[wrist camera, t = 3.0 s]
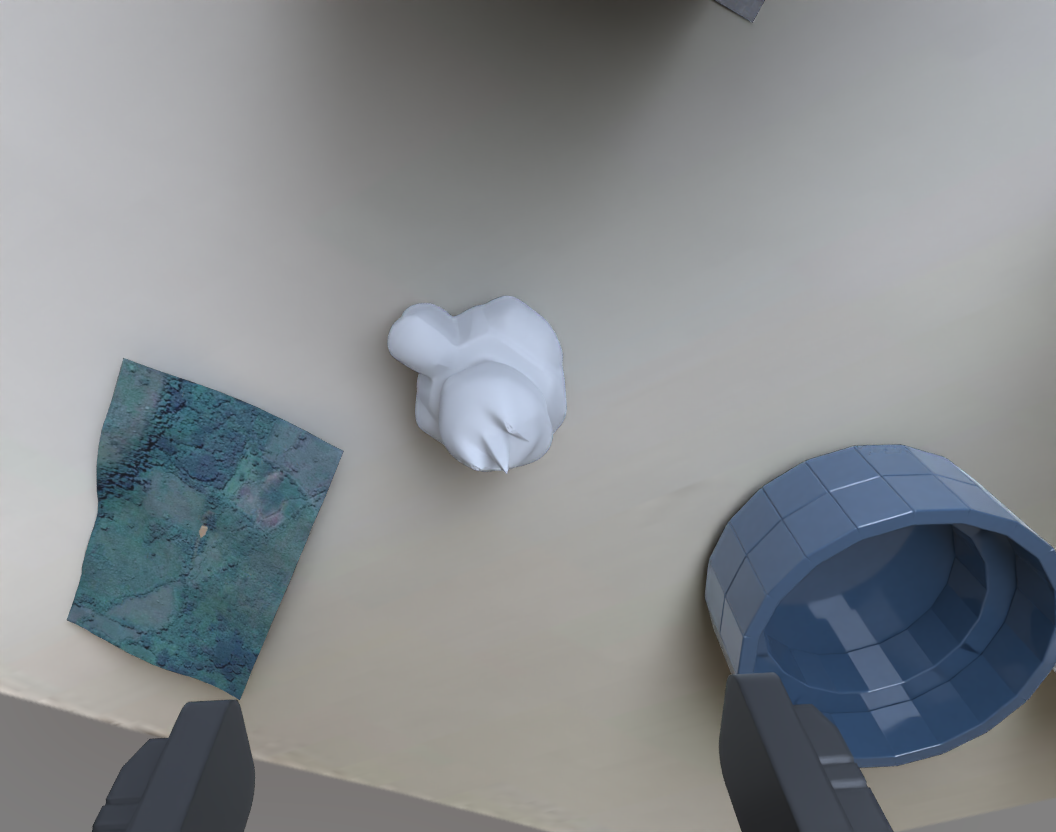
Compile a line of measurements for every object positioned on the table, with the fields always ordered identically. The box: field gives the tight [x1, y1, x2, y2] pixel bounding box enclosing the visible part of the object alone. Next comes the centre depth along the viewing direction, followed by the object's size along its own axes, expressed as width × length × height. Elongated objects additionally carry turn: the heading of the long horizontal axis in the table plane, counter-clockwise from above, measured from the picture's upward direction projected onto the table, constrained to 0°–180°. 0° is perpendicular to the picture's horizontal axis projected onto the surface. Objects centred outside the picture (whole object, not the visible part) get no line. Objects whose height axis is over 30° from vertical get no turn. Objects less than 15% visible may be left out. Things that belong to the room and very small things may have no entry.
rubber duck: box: [388, 296, 567, 474], centre depth 24 cm, size 5×7×8 cm
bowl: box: [705, 444, 1056, 768], centre depth 30 cm, size 12×12×5 cm
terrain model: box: [67, 358, 343, 700], centre depth 29 cm, size 13×8×2 cm, turn 155°
